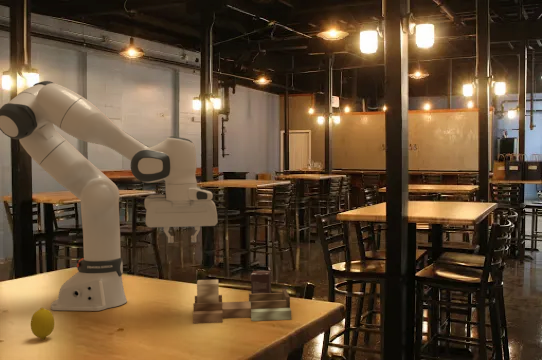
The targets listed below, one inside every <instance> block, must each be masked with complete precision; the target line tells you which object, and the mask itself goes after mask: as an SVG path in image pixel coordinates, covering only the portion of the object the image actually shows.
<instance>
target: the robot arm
mask: <svg viewBox="0 0 542 360" xmlns="http://www.w3.org/2000/svg"><path fill="white" fill-rule="evenodd" d="M32 85H33V86H30V87H28V88H26V89H24V90H22V91H21V92H19V93H18V94H17V95H16V96H15V97H14V98H12V99H10V100H9V101H8V102H7V103H5V104H3V105H2V106H1V107H0V131H1V132H2V134H3V135H5V136H7V137H8V138H10V139H13V140H19V143H20V145H21V147H22V148H23V149H24V150H25V152H26V153H27V154H28V155H29V156H30V157H31V158H32V160H33V161H35V162H36V163H37V165H39V166H40V167H41V169H43V170H44V171H45V172H46V173H47V174H48V175H49V176H51V177H52V178H53V179H54V180H55V181H56V182H57V183H58V184H59V185H61V186H62V187H64V188H65V189H66V190H67V191H68V192H70V193H71V194H73V195H74V196H75V197H76V198H77V199H78V200H79V201H80V213H81V223H82V224H81V227H82V237H83V238H82V239H83V257H82V258H80V259H79V260H78V261H77V263H76V268H77V272H75V274H73V275H72V276H71V277H69V279H67V280H66V281H65V282H64V283H63V284H62V285H61V287H60V288H59V291H58V298H57V299H55V300H53V302H51V304H50V309H51V310H52V311H75V312H76V311H78V312H79V311H84V312H85V311H87V312H92V311H93V312H98V311H99V312H100V311H103V310H106V309H110V308H116V307H119V306H122V305H124V304H126V303H127V301H128V300H127V297H126V294H125V289H124V282H123V277H122V276H123V270H124V268H123V267H124V266H123V265H124V263H123V258H122V257H121V230H120V229H121V227H120V226H121V225H120V190H119V187H118V185H116V183H115V182H113V181H112V179H110V178H109V177H108V176H107V175H106V174H104V172H102V171H101V170H100V169H99V168H98V167H97V166H96V165H94V164H93V163H92V162H91V161H90V160H89V159H87V157H86V156H85V155H83V154H82V153H81V152H80V151H79V150H78V149H77V148H76V147H75V146H74V145H73V144H72V143H70V142H69V141H68V139H66V138H65V137H64V136H62V135H61V134H60V133H59V132H58V131H57V129H56V128H55V127H57V128H58V129H60V130H61V131H63V132H64V133H66V134H67V135H69V136H71V137H73V138H75V139H78V140H80V141H82V142H86V143H91V144H94V145H95V144H97V145H99V146H104V147H107V148H109V149H110V150H113V151H114V152H116V153H118V154H119V155H121V156H123V157H124V158H125V159H127V160H129V162H130V171H131V173H132V175H133V176H134V178H136V179H137V180H138V181H140V182H142V183H145V184H151V183H156V184H157V183H158V184H159V183H163V182H165V183H164V184H165V193H163V194H161V193H160V194H159V193H158V194H149V195H148V196H146V197H145V199H144V208H145V210H146V212H145V225H146V227H147V228H163V232H164V234H165V236H166V237H167V243H168V244H173V243H174V242H175V241H174V240H175V238H174V235H171V233H169V231H170V228H179V227H180V228H182V227H194V231H195V233H194V235H191V236H190V238H191V239H190V243H197V236H198V234H199V232H200V230H201V227H215V226H216V225H217V224H218V212H217V206H216V203H215V202H214V201H213V200H212V199H213V198H214V197H213V196H214V195H213V192H212V191H210V190H208V189H207V190H206V189H204V188H199V187H198V180H197V178H196V172H197V152H196V147H195V144H194V143H193V141H192V140H190V139H189V138H184V137H180V136H167V137H166V138H165V139H164V140H163V141H161V142H158V143H157V144H155V145H153V146H151V147H150V146H148V145H146V144H144V143H143V142H141V141H139V139H137V138H135V137H133V135H130V134H129V133H127V132H125V131H124V130H123V129H121V128H120V127H119V126H118V125H117V124H116V123H115V122H113V121H112V120H111V119H110V118H109V117H108V116H107V115H106V113H105V114H104V112H103V111H102V110H101V109H99V108H98V107H97V106H96V105H95V104H93V103H92V102H91V101H89V99H86V98H85V97H83V96H82V95H81V94H78V93H77V92H75V91H73V90H72V89H70V88H68V87H66V86H63V85H61V84H59V83H55V82H52V81H49V80H43V81H39V82H37V83H34V84H32Z"/></svg>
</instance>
